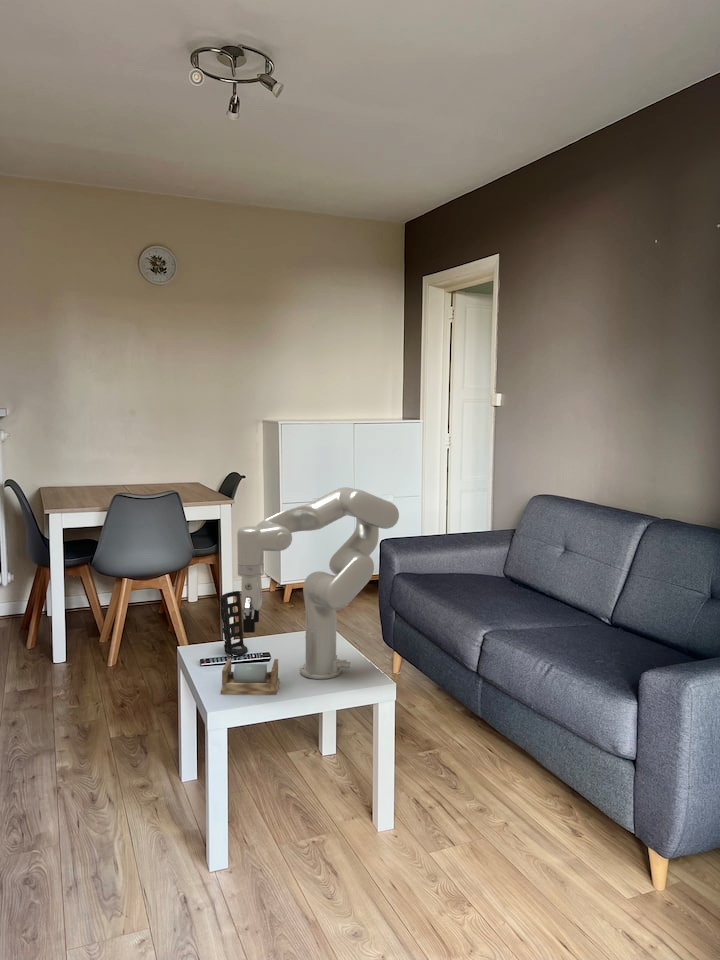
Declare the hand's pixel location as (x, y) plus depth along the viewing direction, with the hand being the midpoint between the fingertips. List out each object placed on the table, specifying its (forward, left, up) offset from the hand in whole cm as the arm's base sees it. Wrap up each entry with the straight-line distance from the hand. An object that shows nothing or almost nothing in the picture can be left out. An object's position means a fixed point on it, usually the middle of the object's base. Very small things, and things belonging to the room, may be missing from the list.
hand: (251, 627), depth 211 cm
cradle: (0, 0, -18) cm, 18 cm away
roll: (0, 0, -17) cm, 17 cm away
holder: (+10, -31, -18) cm, 37 cm away
